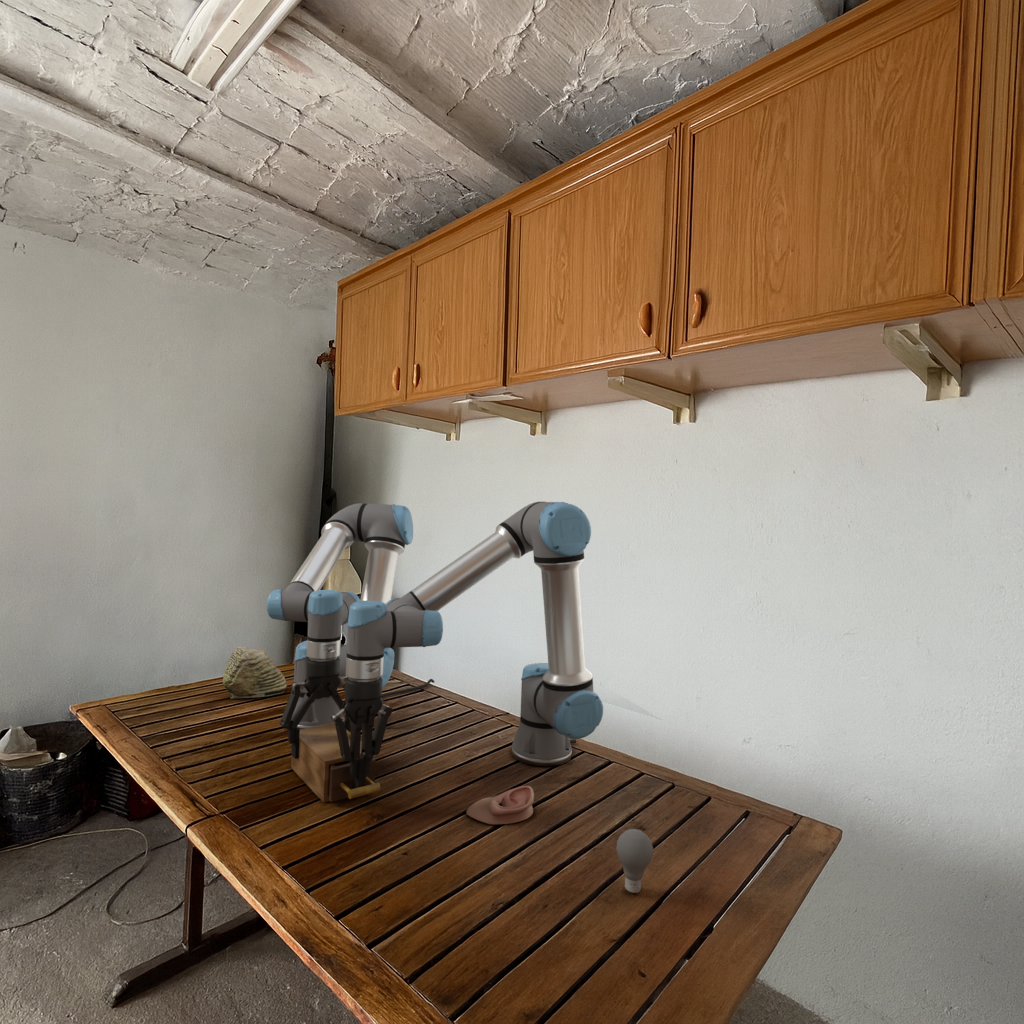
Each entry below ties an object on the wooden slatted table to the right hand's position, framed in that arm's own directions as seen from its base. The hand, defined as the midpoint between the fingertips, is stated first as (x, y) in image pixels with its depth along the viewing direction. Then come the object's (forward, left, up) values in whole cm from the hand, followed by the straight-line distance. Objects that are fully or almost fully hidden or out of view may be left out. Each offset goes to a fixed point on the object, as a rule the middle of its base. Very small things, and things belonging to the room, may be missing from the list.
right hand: (358, 790), depth 130 cm
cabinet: (+4, -15, -3) cm, 16 cm away
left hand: (+6, -21, +1) cm, 22 cm away
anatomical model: (-27, +11, -3) cm, 30 cm away
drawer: (+3, -9, -2) cm, 9 cm away
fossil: (+21, -81, -3) cm, 84 cm away
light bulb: (-40, +42, -3) cm, 58 cm away
